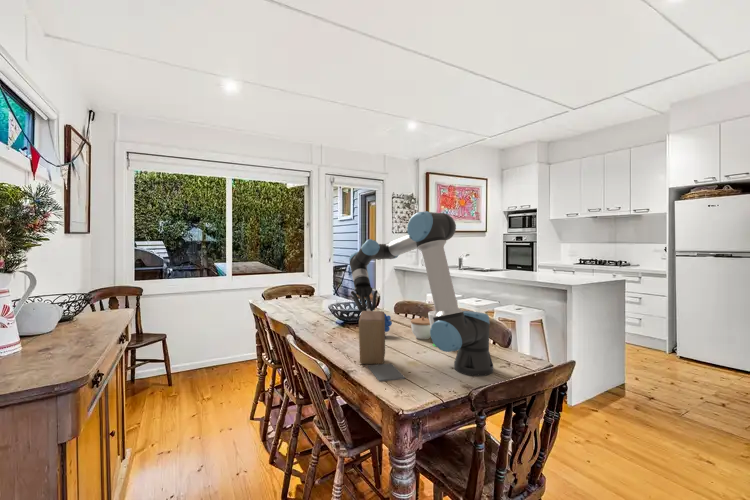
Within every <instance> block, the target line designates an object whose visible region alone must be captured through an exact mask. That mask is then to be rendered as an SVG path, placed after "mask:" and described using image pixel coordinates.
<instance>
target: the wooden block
mask: <svg viewBox="0 0 750 500" xmlns="http://www.w3.org/2000/svg"><path fill="white" fill-rule="evenodd" d="M360 312H361V313H360V315H359V320H358V341H359V342H358V343H359V344H358V345H359V347H358V349H359V362H360V364H361V365H378V364H385V363H384V362H385V355H386V332H385V314H386V313H385V311H382V310H381V311H379V310H378V311H377V310H373V311H360Z"/></svg>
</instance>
